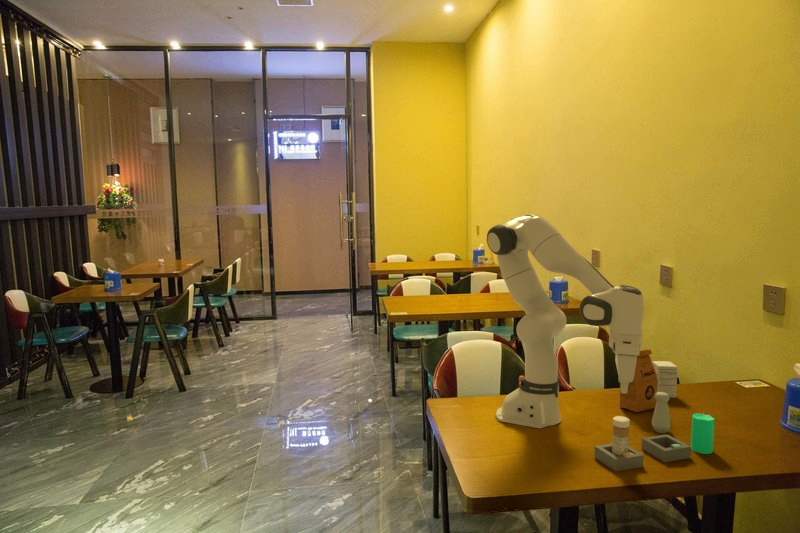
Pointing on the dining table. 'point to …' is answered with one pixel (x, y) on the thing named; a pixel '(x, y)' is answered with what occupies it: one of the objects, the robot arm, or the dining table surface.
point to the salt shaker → (661, 413)
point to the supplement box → (666, 377)
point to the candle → (702, 433)
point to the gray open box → (619, 458)
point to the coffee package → (641, 385)
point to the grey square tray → (666, 448)
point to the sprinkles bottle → (620, 435)
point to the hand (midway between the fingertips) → (622, 387)
